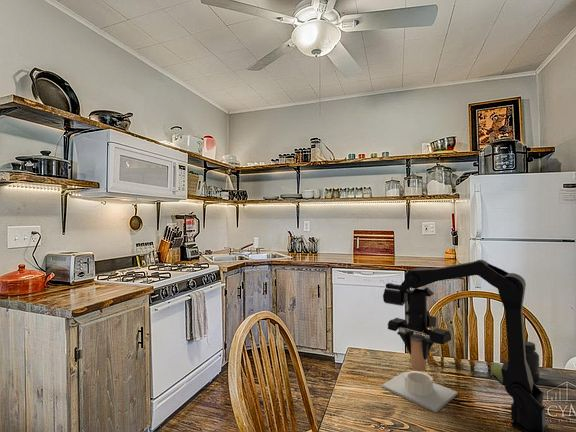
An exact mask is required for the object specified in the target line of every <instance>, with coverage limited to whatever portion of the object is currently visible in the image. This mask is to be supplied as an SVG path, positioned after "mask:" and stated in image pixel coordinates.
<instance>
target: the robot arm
mask: <svg viewBox="0 0 576 432" xmlns="http://www.w3.org/2000/svg"><path fill="white" fill-rule="evenodd" d="M471 276H478V277H479V278H481V279H483V280H484V281H485V282H486V283H488V284H489V285H491V286H492V287H494V288H495V289H497V291H498V295H499V299H500V301H501V304H502V307H503V308H504V315H505V316H504V317H505V319H504V320H505V329H506V331H505V333H506V343H507V353H508V354H507V355H508V356H507V357H508V362H506V361H503V363H502V365H503V366H502V368H501V372H502V376H503V382H501V385H502V386H504V388H505V391H506V393H507V394H508V395H509V396H510V397H511V398H512V399H513V402H512V403H511V405H510V417H511V421H512V422H511V427H514V428H516V429H517V430H520V431H523V432H547V430H548V428H549V426H548V425H547V423H546V422H547V421H546V406H545V405H543V403H544V394H545V393H544V392H543V391H542V389H540V388H539V387H538V386H537V385H536V384H535V383H534V382H533V378H532V375H531V371H530V368H529V366H528V363H527V361H526V352H525V341H526V340H525V328H524V326H525V325H524V318H523V317H524V316H523V315H524V314H523V304H524V301H525V300H524V299H525V291H526V286H527V285H526V284H527V283H526V280H525V279H524V278H523V276H521V275H520V274H518V273H513V272H511V273H509V272H508V271H506V270H504V269H501V268H500V267H498V266H495V265H493V264H490V263H489V262H488V261H485V260H484V259H476V260H474V261H470V262H463V263H459V264H452V265H447V266H442V267H416V268H413V269H410V270H408V271H407V272H406V273H405V275H404V280H403V281H402V282H401V284H394V283H392V282H388V283H385V288H384V290H383V294H382V300H383V302H384V303H385V304H387V305H395V306H399V307H400V306H401V307H402V306H405V304H406V303H407V310H405V315H406V316H407V320H406V319H403V318H400V317H395V318H393V319H390V320H389V321H388V322H387V330H390V331H393V332H397V333H396V334H397V335H398V336H400V338H401V340H402V341H403V343H404V345H405V348H406V349H407V351H408V353H409V355H410V356H411V335H412V334H420V335H423V336H425V339H423V340H422V348H423V357H424V360H426V361H427V359H428V357H429V355H430V354H429V353H430V351H431V350H432V346H433V345H434V343H435V344H439V345H445V344H447V343H449V342H450V341H452V333H451V332H450V331H449V330H447V329H444V328H440V327H439V328H438V327H437V328H436V324H437V317H435V316H432V315H430V310H428V308H427V305H428V302H427V301H428V299H427V297H431V296H433V295H434V291H432V290H431V289H430V288H429V287H428V285H431V284H433V283H436V282H441V281H445V280H452V279H453V280H454V279H461V278H466V277H471ZM425 286H427V287H425ZM421 287H425V288H421ZM410 289H412V290H410ZM432 327H433V328H435V329H433V330H432V329H430V328H432Z"/></svg>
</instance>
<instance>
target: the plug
mask: <svg viewBox="0 0 576 432" xmlns="http://www.w3.org/2000/svg"><path fill="white" fill-rule="evenodd" d="M425 338H426V337H425V335H423V334H419V333H413V334H412V335H411V355H410V360H411V361H410V366H411V369H412V370H414V371H418V372H425V371H426V370H427V359H426V360H424V357H423V348H422V340H423V339H425Z"/></svg>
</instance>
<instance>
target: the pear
mask: <svg viewBox="0 0 576 432" xmlns="http://www.w3.org/2000/svg"><path fill="white" fill-rule="evenodd" d="M502 366H503V364H502V365H500V364H498V363H497V364H496V363H495V364H492V365H490V375H491V376H494V377H496V378H497V379H498V381H499V382H501V383H502V382H503V376H502V372H501V368H502Z"/></svg>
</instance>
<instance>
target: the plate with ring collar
mask: <svg viewBox="0 0 576 432" xmlns="http://www.w3.org/2000/svg"><path fill="white" fill-rule="evenodd" d="M381 388H382V389H384V390H385V391H388V392H390V393H393V394H395V395H398V396H400V397H401V398H404V399H406V400H408V401H411V402H412V403H414V404H417V405H418V406H421V407H423V408H426V409H428V410H430V411H432V412H434V413H437V412H438V411H440V410H441V409H442V408H443V407H445V406H446V405H447V404H448V403H449V402H450V401H452V400H453V399H454V398H455V397H457V396H458V391H456V390H453V389H451V388H449V387H446V386H443V385H441V384H438V383H436V382H434V378H433V377H432V376H431V375H430V374H429V373H425V372H424V371H416V370H414V371H413V370H412V371H403V372H402V373H400V374H398V375H396V376H395V377H393V378H391V379H390V380H387V381H386V382H384V383H383V384H381Z"/></svg>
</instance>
